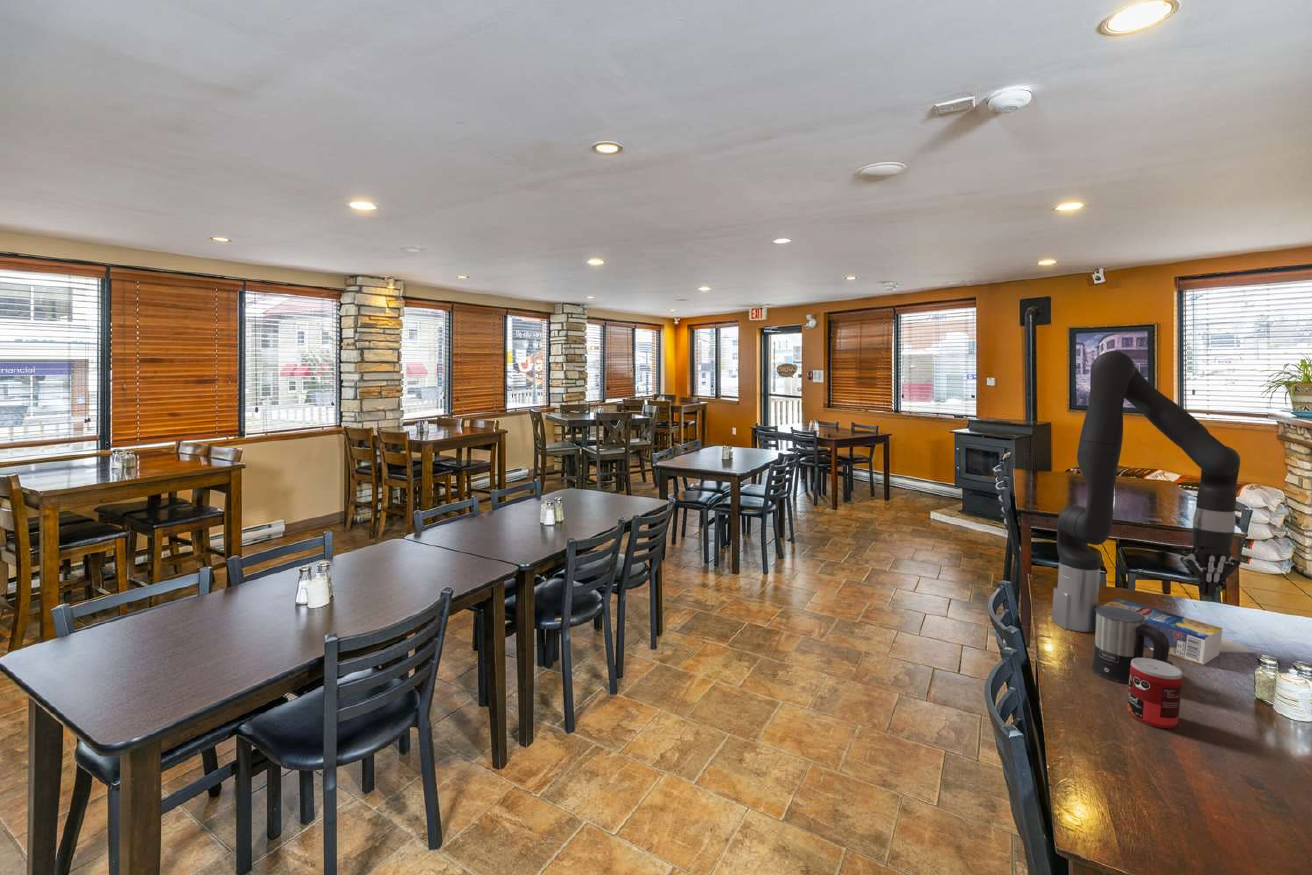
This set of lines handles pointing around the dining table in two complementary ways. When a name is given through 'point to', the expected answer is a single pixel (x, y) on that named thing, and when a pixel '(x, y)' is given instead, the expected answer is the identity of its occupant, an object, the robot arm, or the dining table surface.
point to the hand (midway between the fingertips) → (1206, 595)
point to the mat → (1230, 647)
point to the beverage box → (1179, 633)
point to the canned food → (1154, 692)
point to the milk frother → (1123, 642)
